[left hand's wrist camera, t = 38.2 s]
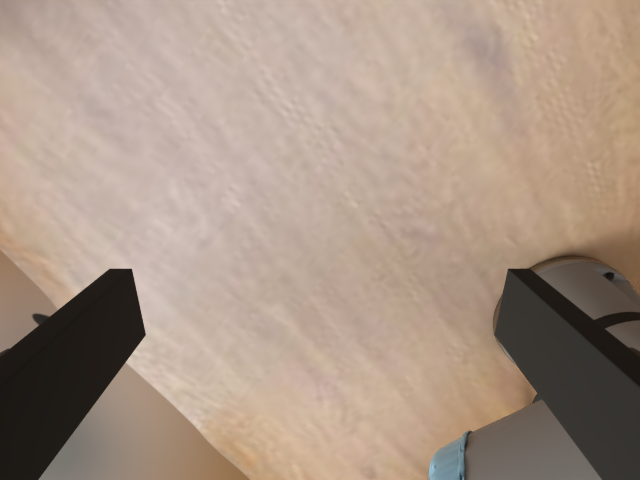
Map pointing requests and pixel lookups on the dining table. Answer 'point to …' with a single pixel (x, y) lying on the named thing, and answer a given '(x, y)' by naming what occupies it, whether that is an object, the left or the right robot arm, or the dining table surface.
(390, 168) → the dining table surface
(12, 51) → the dining table surface
